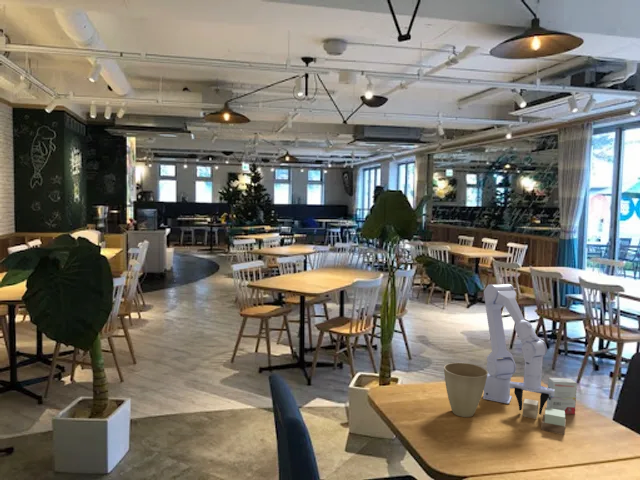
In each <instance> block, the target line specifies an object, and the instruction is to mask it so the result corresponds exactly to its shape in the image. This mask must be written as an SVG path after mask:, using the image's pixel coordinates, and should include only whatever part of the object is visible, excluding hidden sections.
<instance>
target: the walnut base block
mask: <svg viewBox="0 0 640 480" xmlns="http://www.w3.org/2000/svg"><path fill="white" fill-rule="evenodd" d="M566 422H567V419H566V418H565V426H560V425H554V424H549V423H545V414H542V419H541V431H545V432H550V433H555V434H559V435H564V436H565V434H566V424H567V423H566Z"/></svg>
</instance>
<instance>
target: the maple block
mask: <svg viewBox="0 0 640 480" xmlns="http://www.w3.org/2000/svg"><path fill="white" fill-rule="evenodd" d="M538 415H539V400H536V399H535V400H534V399H530V398H524V401H522V417H525V418H529V419H532V420H533V419H534V420H537V418H538Z"/></svg>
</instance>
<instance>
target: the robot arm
mask: <svg viewBox="0 0 640 480" xmlns="http://www.w3.org/2000/svg"><path fill="white" fill-rule="evenodd" d="M483 297H484V303H485V310H486V311H485V312H486V317H487V318H486V319H487V324H488V332H489V339H490V344H491V352H490V353H489V354H488V355H487V356H486V361H487V362H486V370H487V372H488V374H487V379H486V383H485V387H484V390H483V394H482V396H483V397H482V399H483V400H488V401H492V402H497V403H502V404H506V405H509V404H510V402H511V401H512V398H513V396H512V395H510V394H511V390H512V389H514V392H513V393H514V396H515V397H516V400H517V403H518V404H517V405H518V411H523V393H524V391H526V392H527V391H528V392H532V393H535V394H536V393H537V394H540V396H539V397H540V398H539V408H538V415H542V413H543V412H542V411H543V409H544V407H545V404H546V403H547V399H548V397H549V395H550V396H553V397H554V391H555V390H554V389H550V388H548V386H547V387H546V386H542V372H543V362H544V361H543V357H544V356H546V355H547V352H548V347H547V344H546V342H545V341H544V340H542V339H541V338H540V337H538V335H537V334H536V332H535V330H534V327H533V325H532V323H531V322H530V321H527V320H525V318H524V315H523V313H522V311H521V308H520V306H519V304H518V302H517V299H516V298H517V292H516V291H515V288H514V286H513V285H512V284H510V283H501V284H492V283H491V284H488V285H486V286H485V288H484V290H483ZM503 307H504V308H505V309H506V310H507V313H508V314H509V315H510V316H511V318H512V320H513V322H514V324H515V325H514V330H515V332H516V335H517V336H518V338H519V340H520V342H521V345H522V346H521V351H522V355H523V360H524V368H523V369H524V370H523V381H522V382H517V381H512V377H513V374H515V373H516V372H517V364H516V362H515V359H514V355H513V354H512V353H511V352H510V351H509V350H507V349H508V348H507V343H506V342H507V340H506V336H505V328H504V322H503V315H502V308H503Z"/></svg>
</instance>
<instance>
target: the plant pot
mask: <svg viewBox="0 0 640 480" xmlns="http://www.w3.org/2000/svg"><path fill="white" fill-rule="evenodd" d="M443 371H444V383H445V387H446V388H445V389H446V394H447V398H448V401H449V406H450V408H451V412H452V413H453V414H454V415H456V416H458V417H463V418H471V417H473V416H474V415H475V413H476V410H477V408H478V406H479V404H480V402H481V399H482V396H483V394H484V387H485V383H486V379H487V374H489V373H488V371H487V369H485V368H484V367H482V366H479V365H476V364H472V363H466V362H451V363H447V364H445V365H444V366H443Z"/></svg>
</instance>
